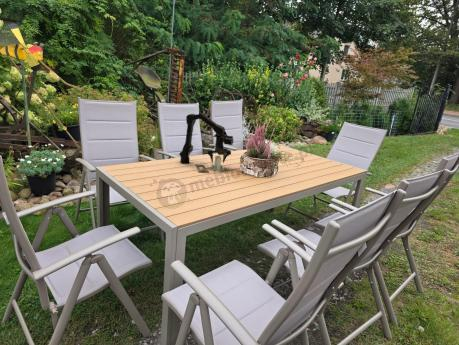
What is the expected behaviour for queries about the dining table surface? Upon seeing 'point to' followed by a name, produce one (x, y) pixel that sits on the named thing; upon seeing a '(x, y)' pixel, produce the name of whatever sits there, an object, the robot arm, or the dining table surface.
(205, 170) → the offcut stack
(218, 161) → the long rectangular block
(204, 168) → the frame
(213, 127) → the robot arm
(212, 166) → the holder
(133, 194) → the dining table surface
